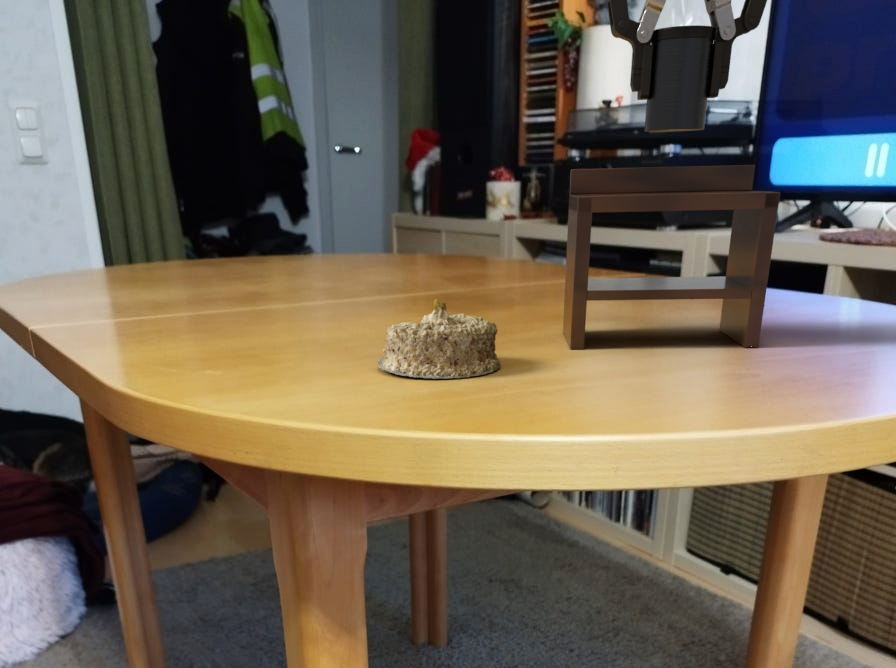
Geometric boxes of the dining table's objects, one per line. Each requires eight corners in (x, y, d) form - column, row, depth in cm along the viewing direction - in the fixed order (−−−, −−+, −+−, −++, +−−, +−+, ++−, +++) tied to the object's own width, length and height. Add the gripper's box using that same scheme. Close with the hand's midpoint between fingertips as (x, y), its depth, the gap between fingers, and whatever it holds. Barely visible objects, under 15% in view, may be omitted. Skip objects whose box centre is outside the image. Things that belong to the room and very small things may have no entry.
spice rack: (731, 330, 88) (752, 165, 82) (758, 347, 79) (784, 164, 73) (562, 331, 89) (570, 169, 83) (570, 349, 80) (579, 168, 74)
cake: (515, 366, 77) (522, 298, 74) (476, 392, 68) (483, 316, 66) (405, 350, 80) (408, 284, 77) (355, 373, 71) (357, 301, 69)
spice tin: (698, 130, 78) (708, 33, 75) (711, 128, 74) (722, 24, 71) (639, 132, 79) (646, 35, 76) (647, 129, 74) (656, 26, 71)
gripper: (609, -182, 65) (593, 97, 73) (818, -193, 64) (779, 92, 72) (598, -149, 72) (584, 104, 79) (787, -158, 71) (755, 99, 78)
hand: (677, 97), depth 75 cm, fingers closed on spice tin, 5 cm apart
